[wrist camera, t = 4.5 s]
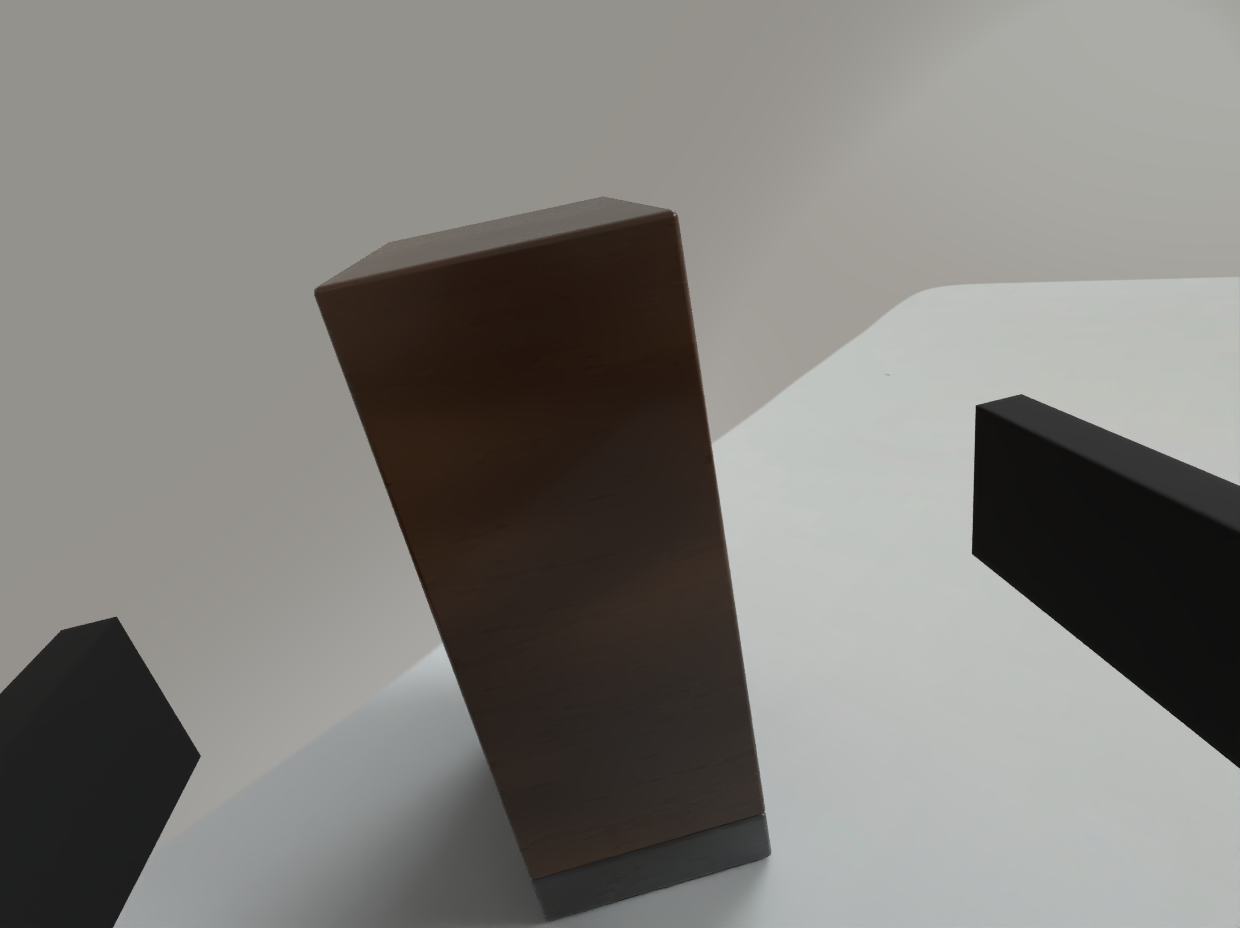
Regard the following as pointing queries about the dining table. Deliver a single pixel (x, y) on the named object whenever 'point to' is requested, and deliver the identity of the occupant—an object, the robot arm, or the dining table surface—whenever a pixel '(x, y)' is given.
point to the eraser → (566, 532)
